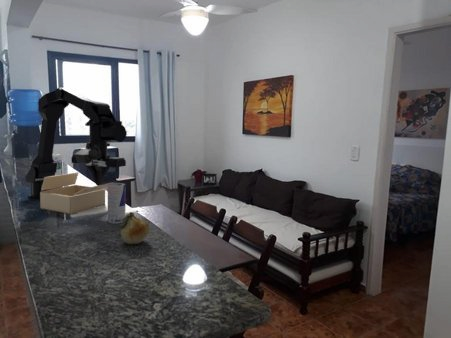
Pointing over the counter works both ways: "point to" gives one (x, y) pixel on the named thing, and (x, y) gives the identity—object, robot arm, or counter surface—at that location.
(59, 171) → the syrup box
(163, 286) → the counter surface
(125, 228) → the onion
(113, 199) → the energy drink
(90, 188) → the flap
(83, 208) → the carton
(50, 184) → the flap
